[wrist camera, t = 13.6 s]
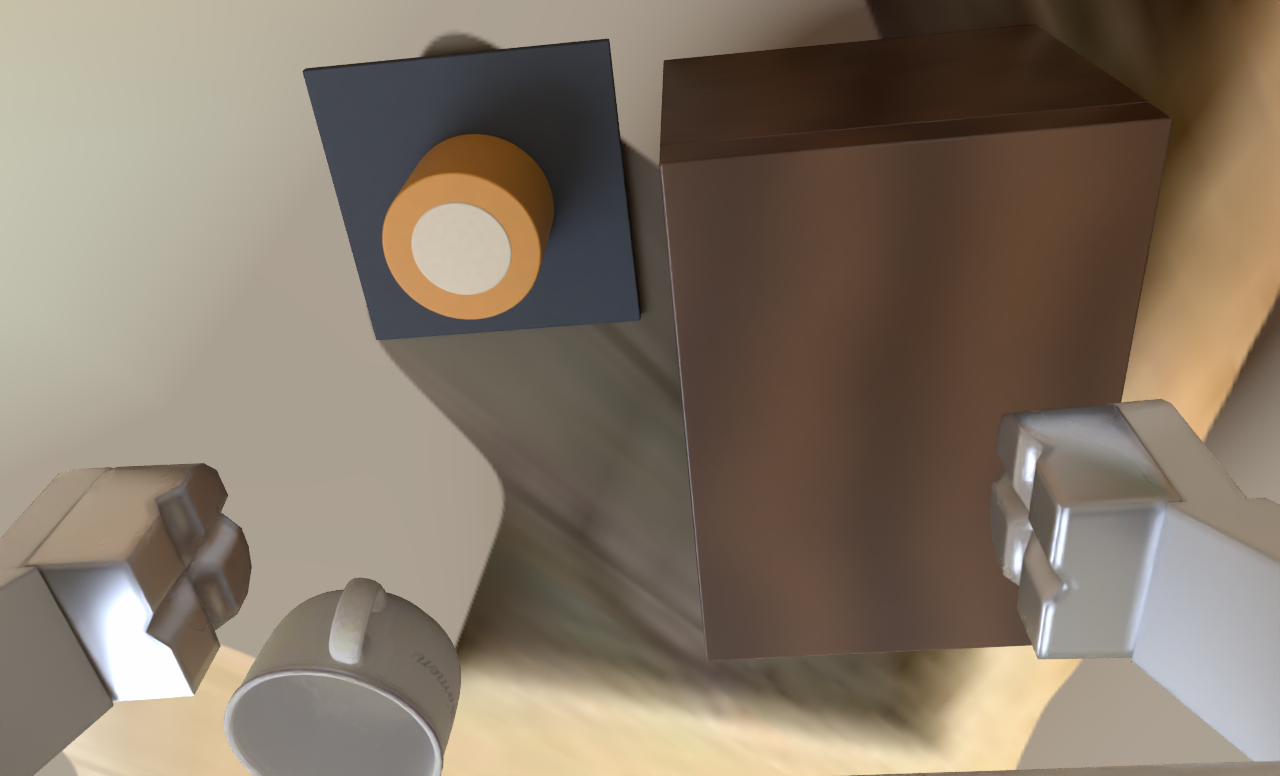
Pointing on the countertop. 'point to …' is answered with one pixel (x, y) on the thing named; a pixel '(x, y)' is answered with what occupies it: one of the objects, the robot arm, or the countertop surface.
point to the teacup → (348, 690)
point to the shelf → (888, 317)
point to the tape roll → (470, 227)
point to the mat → (501, 107)
